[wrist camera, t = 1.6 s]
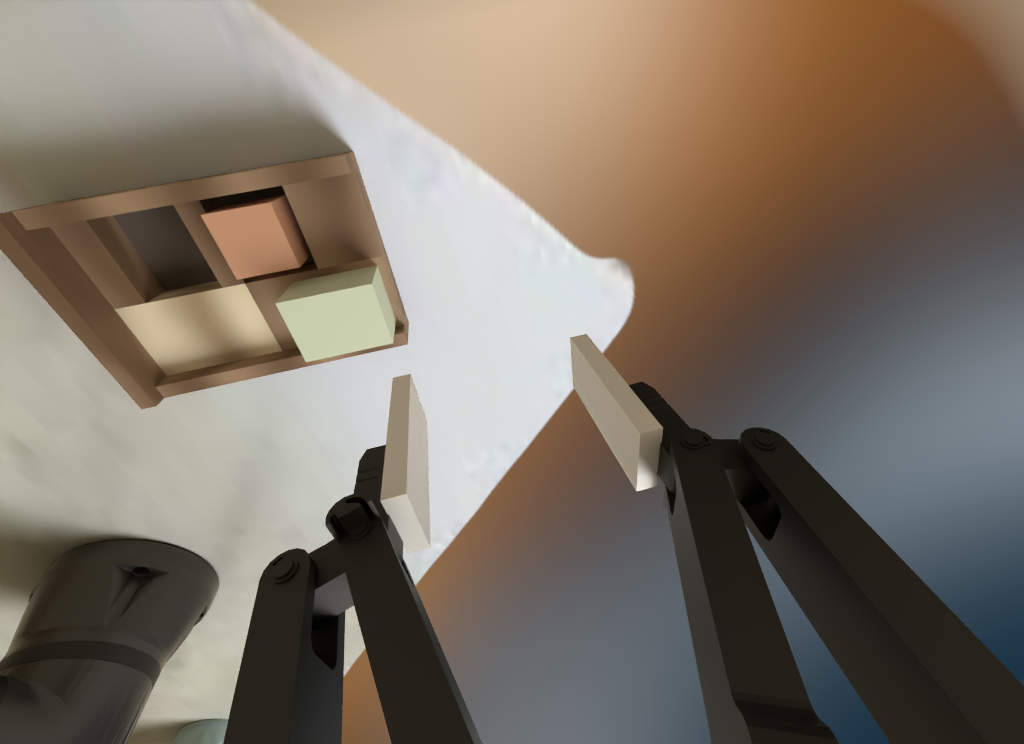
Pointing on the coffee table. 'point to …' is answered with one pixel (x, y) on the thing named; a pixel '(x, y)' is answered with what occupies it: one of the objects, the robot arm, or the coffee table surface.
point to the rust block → (258, 236)
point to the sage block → (338, 313)
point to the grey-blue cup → (202, 732)
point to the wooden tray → (192, 273)
